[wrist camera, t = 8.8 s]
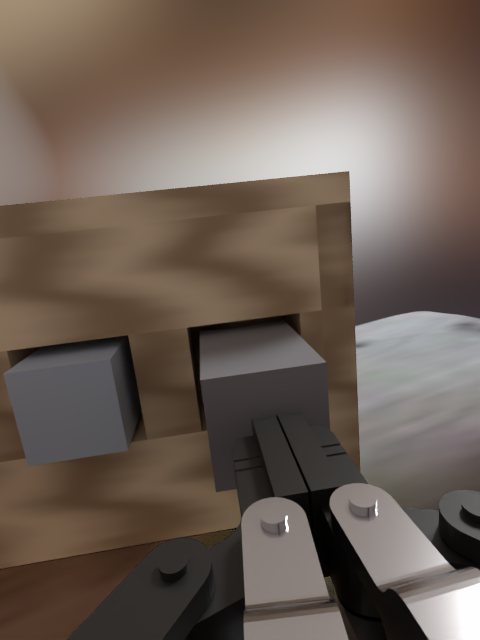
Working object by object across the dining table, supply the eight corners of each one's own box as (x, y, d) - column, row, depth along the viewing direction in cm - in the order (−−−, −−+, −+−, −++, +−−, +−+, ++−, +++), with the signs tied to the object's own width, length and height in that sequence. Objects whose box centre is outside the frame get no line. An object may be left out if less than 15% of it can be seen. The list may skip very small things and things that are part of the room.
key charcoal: (290, 398, 19) (284, 320, 18) (332, 472, 13) (326, 362, 12) (210, 410, 18) (199, 331, 17) (215, 492, 12) (200, 380, 12)
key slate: (147, 392, 21) (135, 324, 20) (127, 450, 16) (110, 359, 15) (75, 402, 21) (59, 333, 20) (28, 465, 15) (3, 373, 14)
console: (310, 421, 28) (295, 194, 24) (361, 506, 19) (349, 171, 16) (-42, 475, 26) (-118, 236, 22) (-163, 596, 17) (-322, 237, 14)
